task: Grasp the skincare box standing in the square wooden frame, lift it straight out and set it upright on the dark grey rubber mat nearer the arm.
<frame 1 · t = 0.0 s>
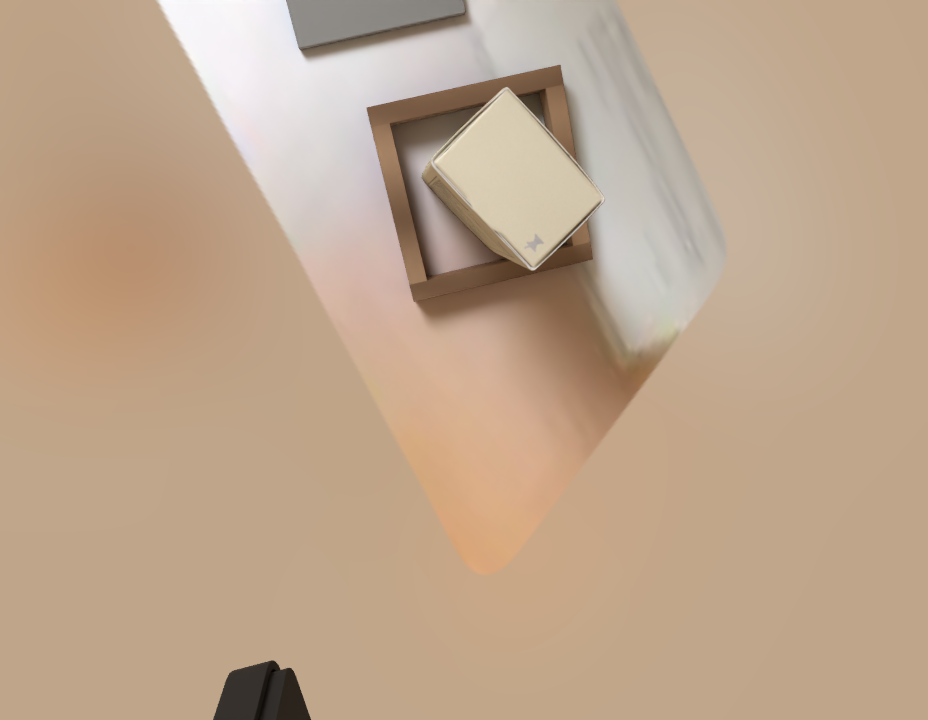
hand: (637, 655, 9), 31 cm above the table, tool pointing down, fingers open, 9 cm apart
skincare box: (480, 187, 38), resting in square wooden frame
square wooden frame: (481, 187, 38), on the table
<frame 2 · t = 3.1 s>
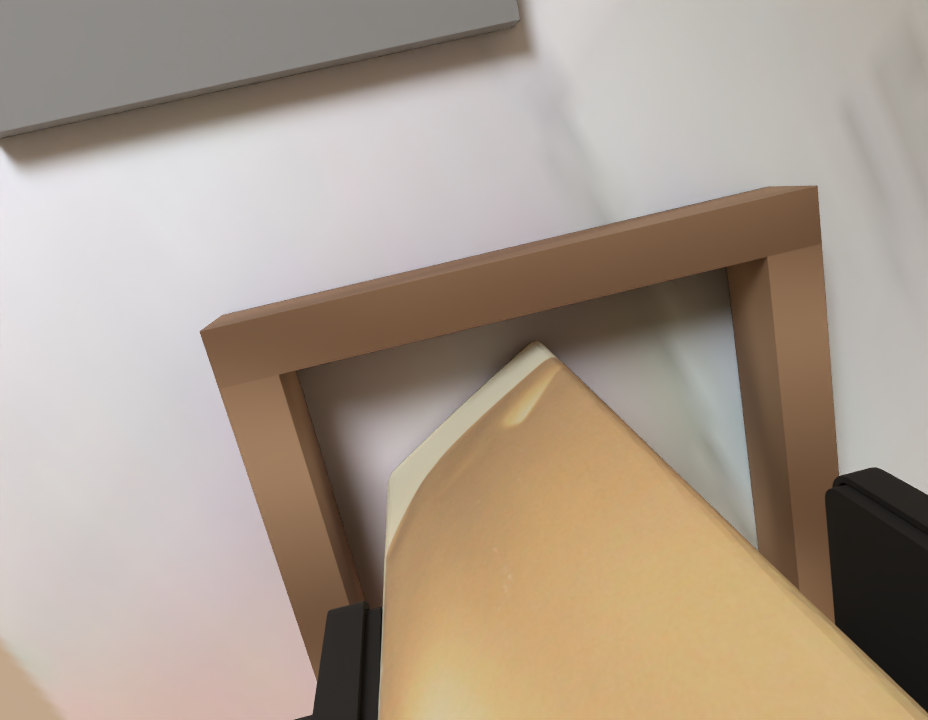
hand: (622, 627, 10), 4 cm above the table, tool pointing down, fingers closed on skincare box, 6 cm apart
skincare box: (550, 495, 14), resting in square wooden frame, touching gripper
square wooden frame: (552, 499, 14), on the table
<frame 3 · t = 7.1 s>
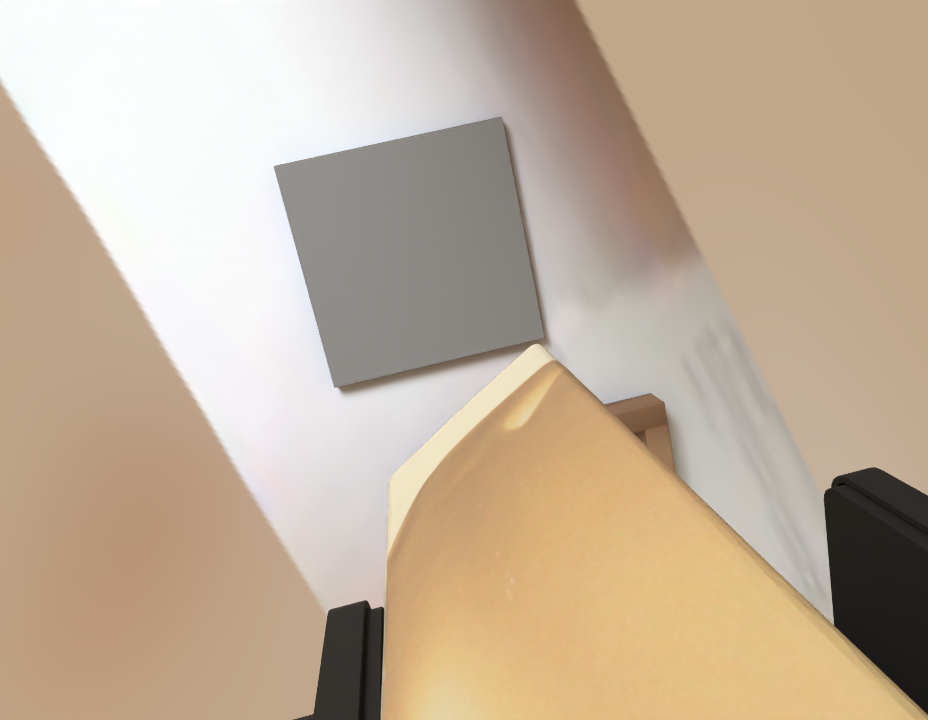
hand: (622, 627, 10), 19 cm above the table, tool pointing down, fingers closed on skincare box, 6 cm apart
skincare box: (550, 497, 14), point 15 cm above the table, touching gripper
square wooden frame: (557, 528, 30), on the table
rubber mat: (415, 255, 27), on the table
when the fingers open (6 cm above the table, at t = 11.1 s): skincare box drops 1 cm, resting on rubber mat.
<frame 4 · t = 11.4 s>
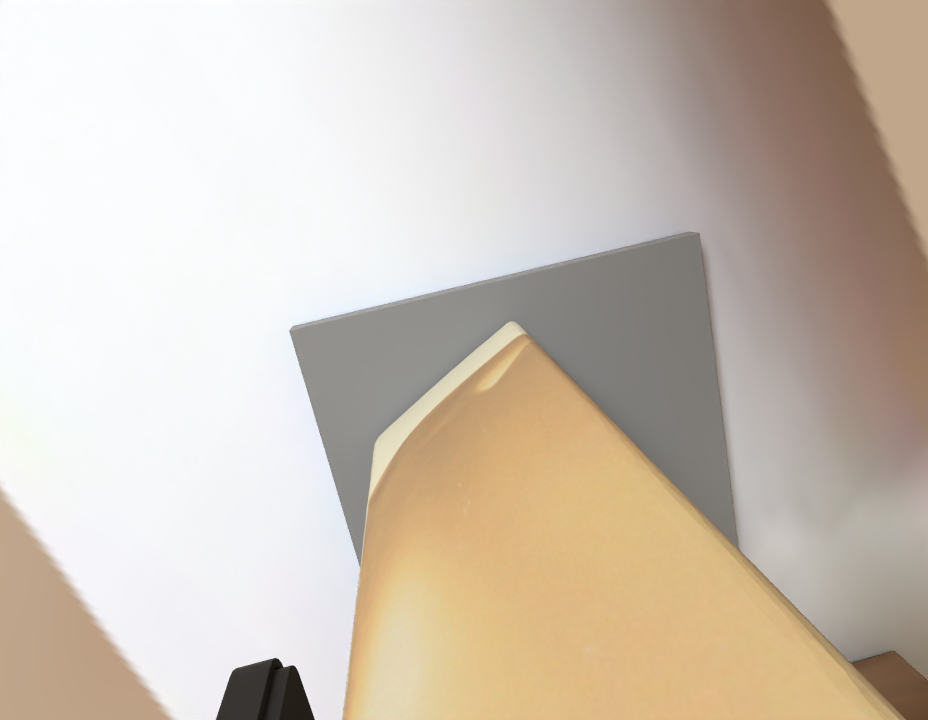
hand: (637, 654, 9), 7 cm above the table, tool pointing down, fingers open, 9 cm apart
skincare box: (522, 464, 15), resting on rubber mat
rubber mat: (532, 462, 16), on the table
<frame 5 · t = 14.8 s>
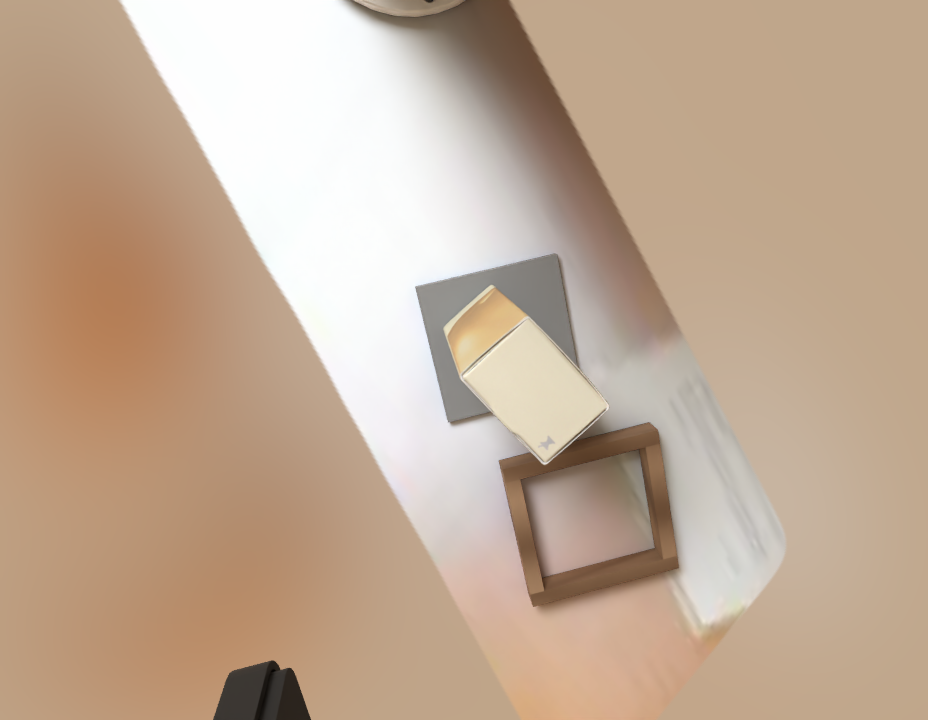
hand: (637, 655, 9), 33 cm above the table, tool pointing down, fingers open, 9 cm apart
skincare box: (496, 337, 42), resting on rubber mat
square wooden frame: (587, 510, 46), on the table
rubber mat: (500, 338, 42), on the table
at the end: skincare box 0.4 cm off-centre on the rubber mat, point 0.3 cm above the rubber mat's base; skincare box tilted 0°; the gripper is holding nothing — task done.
